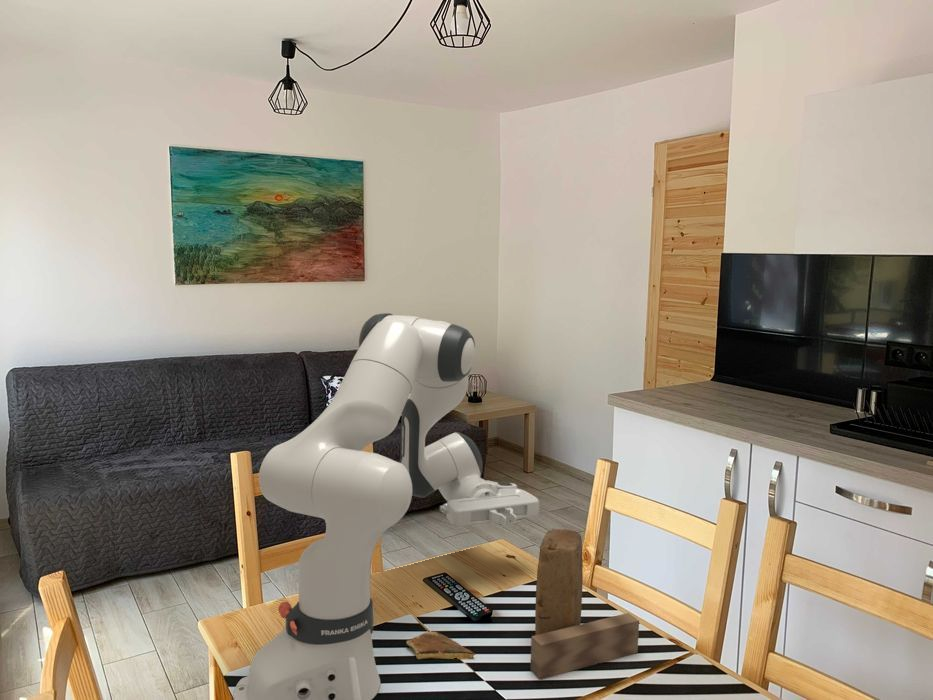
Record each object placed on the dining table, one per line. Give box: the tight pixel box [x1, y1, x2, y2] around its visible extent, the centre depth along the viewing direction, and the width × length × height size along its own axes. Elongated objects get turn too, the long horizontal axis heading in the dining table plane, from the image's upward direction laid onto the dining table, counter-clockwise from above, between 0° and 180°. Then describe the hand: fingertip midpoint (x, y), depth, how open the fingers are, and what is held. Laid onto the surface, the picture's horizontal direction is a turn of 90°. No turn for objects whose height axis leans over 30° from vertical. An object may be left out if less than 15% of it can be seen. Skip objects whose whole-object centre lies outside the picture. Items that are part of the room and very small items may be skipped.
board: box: [530, 612, 640, 680], centre depth 122 cm, size 20×3×6 cm, turn 115°
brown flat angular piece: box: [406, 631, 476, 660], centre depth 123 cm, size 11×8×2 cm
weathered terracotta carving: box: [534, 528, 584, 636], centre depth 127 cm, size 11×8×20 cm
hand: (510, 520), depth 144 cm, fingers closed
